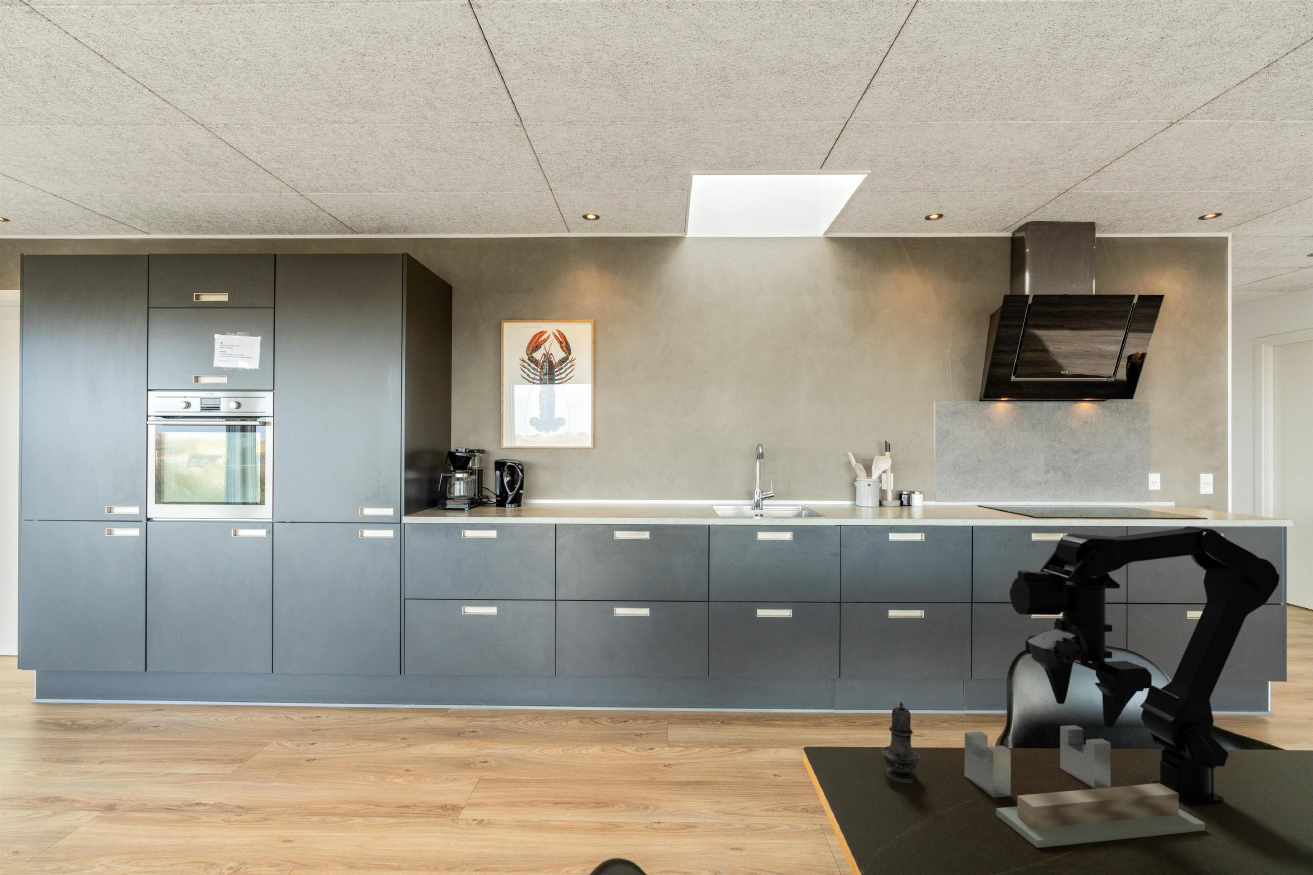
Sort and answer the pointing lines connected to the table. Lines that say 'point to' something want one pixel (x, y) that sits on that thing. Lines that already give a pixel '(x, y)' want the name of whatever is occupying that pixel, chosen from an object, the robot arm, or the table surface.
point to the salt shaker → (901, 749)
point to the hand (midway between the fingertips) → (1083, 714)
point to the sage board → (1100, 828)
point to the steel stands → (1075, 758)
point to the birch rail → (1097, 805)
